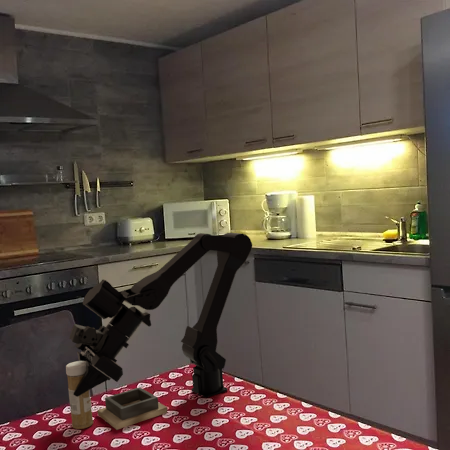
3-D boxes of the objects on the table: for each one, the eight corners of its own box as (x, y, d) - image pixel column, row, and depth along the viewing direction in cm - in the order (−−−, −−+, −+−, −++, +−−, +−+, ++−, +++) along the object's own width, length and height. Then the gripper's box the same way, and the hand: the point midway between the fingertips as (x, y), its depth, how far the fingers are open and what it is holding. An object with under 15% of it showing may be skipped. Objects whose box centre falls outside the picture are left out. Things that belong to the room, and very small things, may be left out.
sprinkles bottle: (96, 425, 116) (90, 363, 115) (75, 432, 114) (69, 368, 113) (89, 418, 120) (83, 358, 119) (68, 424, 118) (62, 363, 116)
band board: (146, 399, 128) (145, 384, 128) (167, 412, 120) (166, 396, 120) (97, 415, 121) (96, 399, 121) (116, 429, 113) (115, 412, 113)
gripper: (80, 302, 125) (35, 360, 121) (102, 317, 109) (50, 385, 104) (117, 330, 129) (74, 386, 125) (143, 348, 113) (94, 414, 109)
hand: (72, 392), depth 116 cm, fingers closed on sprinkles bottle, 4 cm apart
